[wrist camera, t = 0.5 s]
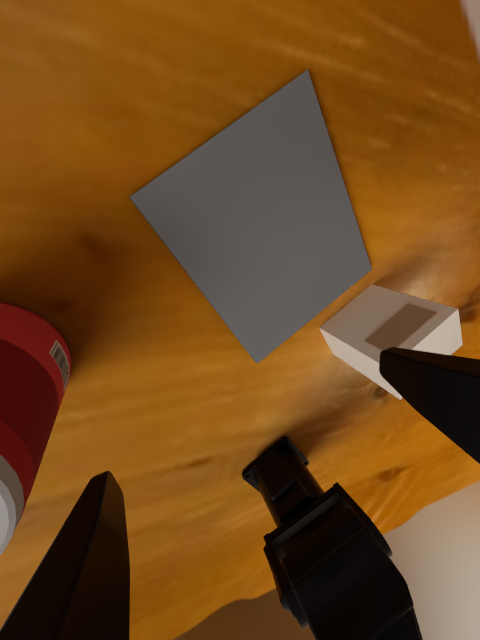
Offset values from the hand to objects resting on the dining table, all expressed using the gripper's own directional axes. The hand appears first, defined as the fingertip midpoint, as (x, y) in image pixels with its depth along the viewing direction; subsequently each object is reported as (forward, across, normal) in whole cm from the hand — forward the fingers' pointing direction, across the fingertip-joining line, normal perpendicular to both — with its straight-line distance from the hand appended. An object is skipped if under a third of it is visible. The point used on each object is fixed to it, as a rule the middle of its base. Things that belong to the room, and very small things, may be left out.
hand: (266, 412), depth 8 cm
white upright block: (+14, -16, +7) cm, 22 cm away
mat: (+13, -8, -2) cm, 16 cm away
